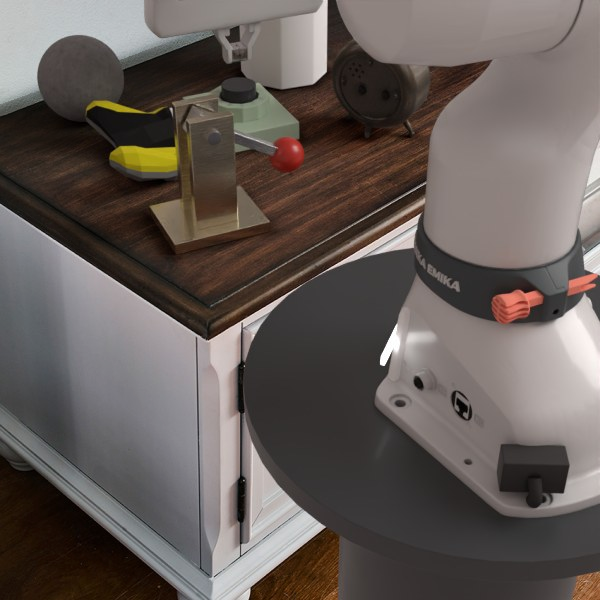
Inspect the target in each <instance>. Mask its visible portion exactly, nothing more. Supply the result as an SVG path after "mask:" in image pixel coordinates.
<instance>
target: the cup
mask: <svg viewBox="0 0 600 600" xmlns="http://www.w3.org/2000/svg"><path fill="white" fill-rule="evenodd" d="M328 1H329V0H323V3H322V5H321V6H320V8H319V9H318V11H317V12H315V13H310V14H304V15H298V16H292V17H286V18H280V19H274V20H268V21H263V22H260V33H259V34H258V36H257V38H256V40H255V42H254V44H253V46H251V48H252V59H251V60H246V61H241V62H240V71H241V72H242V74H243V75H244V76H245V78H249V79H251V80H253V81H254V82H255V83H260V84H261V85H262V86H263V87H264V88H271V89H276V90H280V91H281V90H289V89H295V88H301V87H302V88H303V87H309V86H313V85H314V84H316V83H317V82H318V81H319V80H320V79H321V78H322V77H323V76H324V75H326V73H327V72H328V71H327V70H328V4H329V3H328ZM245 29H246V28H245V27H244V26H243V25H239V42H240V41H241V38H242V36H243V34H244V31H245Z"/></svg>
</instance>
